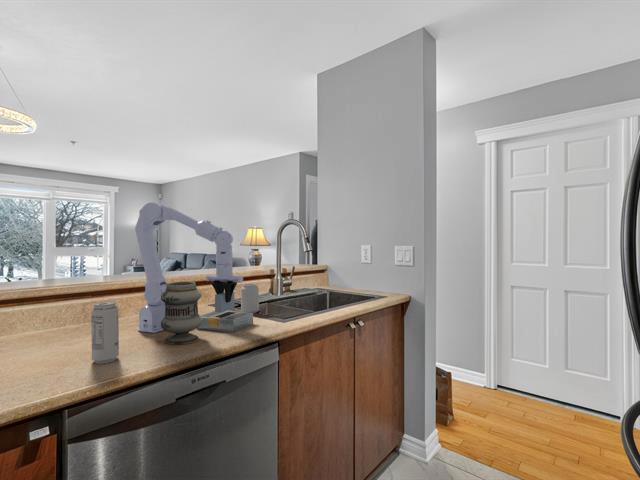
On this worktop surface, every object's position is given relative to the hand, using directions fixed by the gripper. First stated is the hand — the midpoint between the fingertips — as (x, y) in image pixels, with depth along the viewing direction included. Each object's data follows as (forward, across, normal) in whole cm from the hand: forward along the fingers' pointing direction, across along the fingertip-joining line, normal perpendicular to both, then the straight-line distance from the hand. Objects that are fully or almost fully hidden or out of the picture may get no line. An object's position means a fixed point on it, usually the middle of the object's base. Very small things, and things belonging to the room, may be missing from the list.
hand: (224, 301), depth 125 cm
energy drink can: (+9, +8, +40) cm, 42 cm away
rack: (+9, 0, 0) cm, 9 cm away
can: (+9, +4, -23) cm, 25 cm away
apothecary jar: (+9, +2, +19) cm, 21 cm away
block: (+3, 0, 0) cm, 3 cm away
